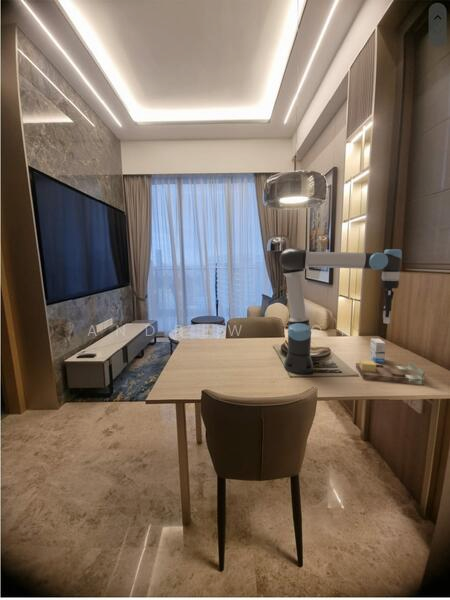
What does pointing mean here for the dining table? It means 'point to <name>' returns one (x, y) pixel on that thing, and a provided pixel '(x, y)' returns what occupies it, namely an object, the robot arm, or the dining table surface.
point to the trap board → (394, 373)
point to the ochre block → (367, 365)
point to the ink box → (377, 350)
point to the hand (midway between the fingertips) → (386, 320)
